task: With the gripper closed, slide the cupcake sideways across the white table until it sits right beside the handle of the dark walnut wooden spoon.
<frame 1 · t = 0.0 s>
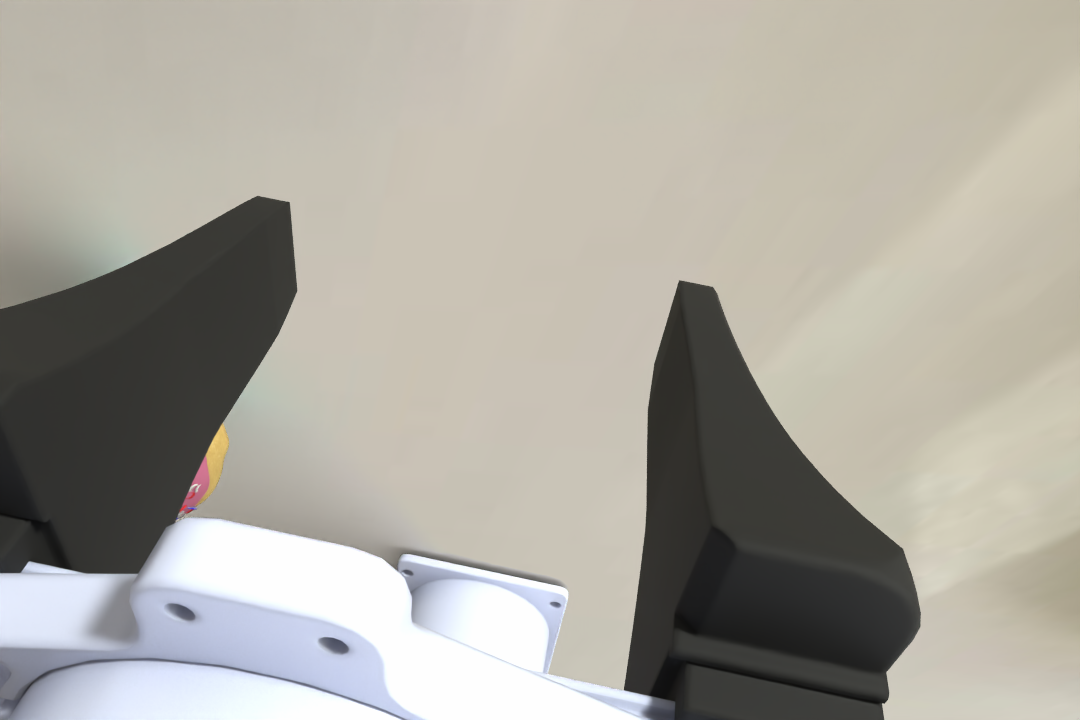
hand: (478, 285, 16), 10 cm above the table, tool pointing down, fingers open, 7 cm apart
cupcake: (168, 343, 33), on the table
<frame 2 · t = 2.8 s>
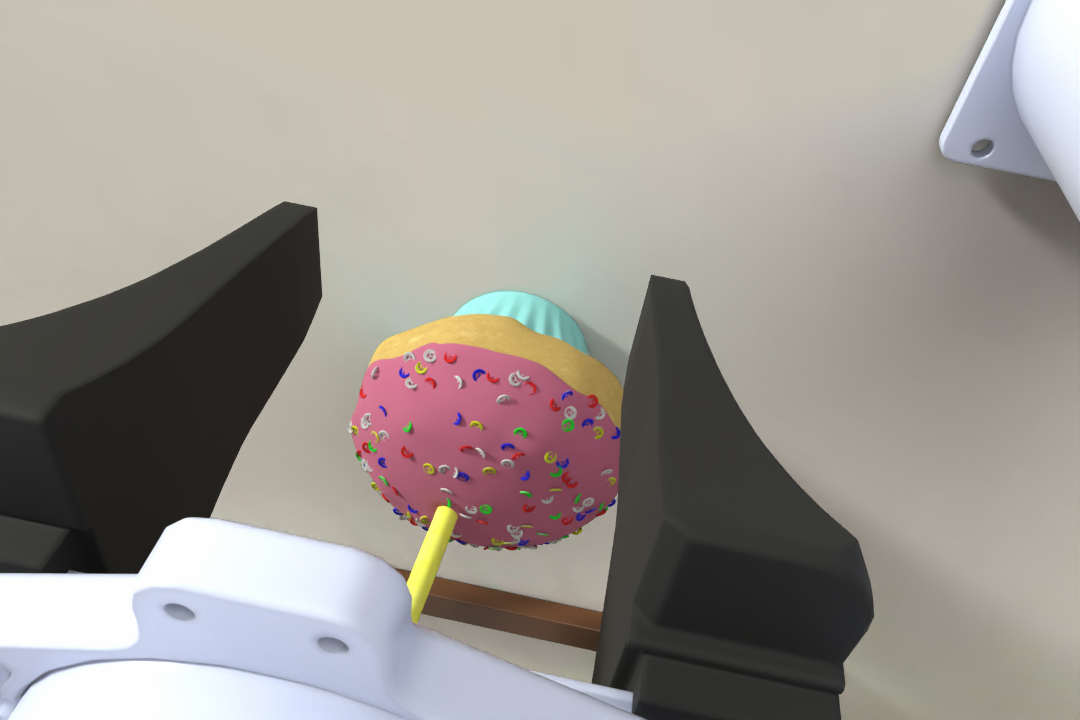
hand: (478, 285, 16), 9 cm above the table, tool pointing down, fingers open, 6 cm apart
cupcake: (517, 338, 29), on the table
spoon: (564, 614, 40), on the table
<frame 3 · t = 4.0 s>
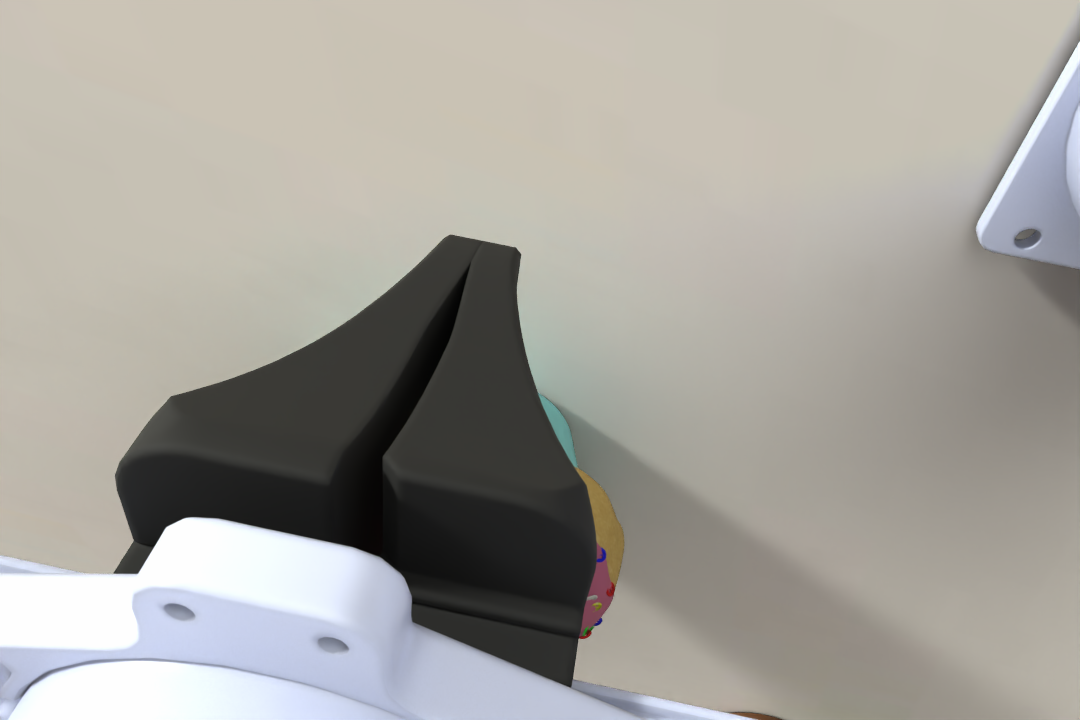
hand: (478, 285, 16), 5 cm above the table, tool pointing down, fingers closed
cupcake: (494, 423, 26), on the table
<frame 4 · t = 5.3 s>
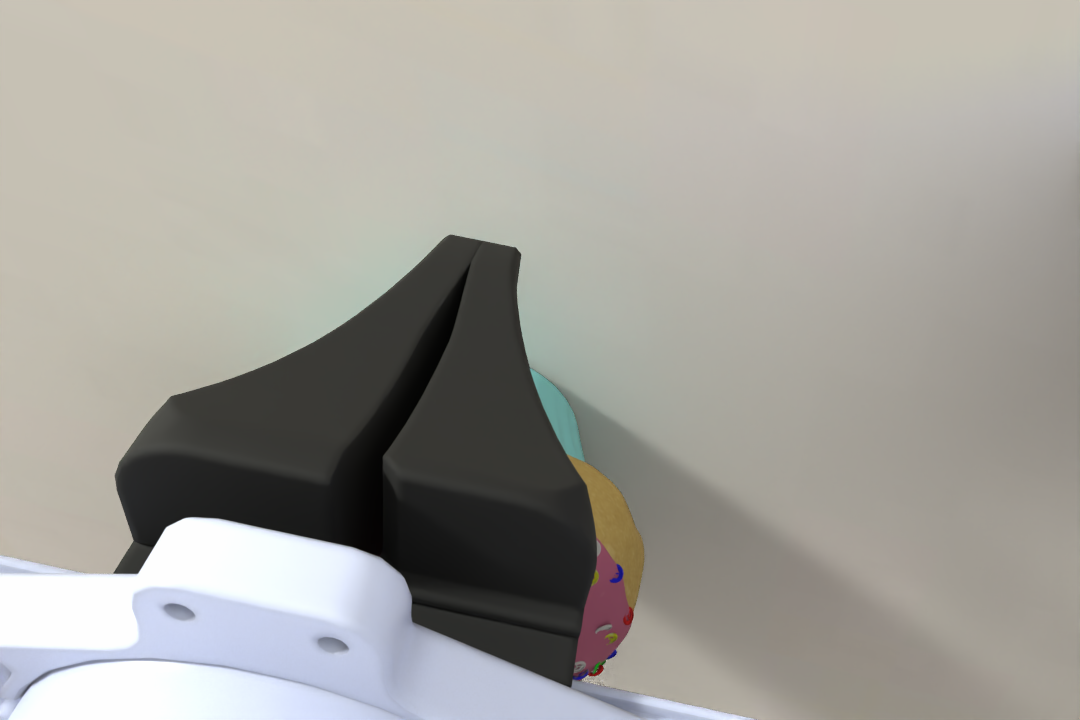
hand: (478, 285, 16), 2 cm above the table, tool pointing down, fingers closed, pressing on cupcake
cupcake: (484, 410, 22), on the table, touching gripper
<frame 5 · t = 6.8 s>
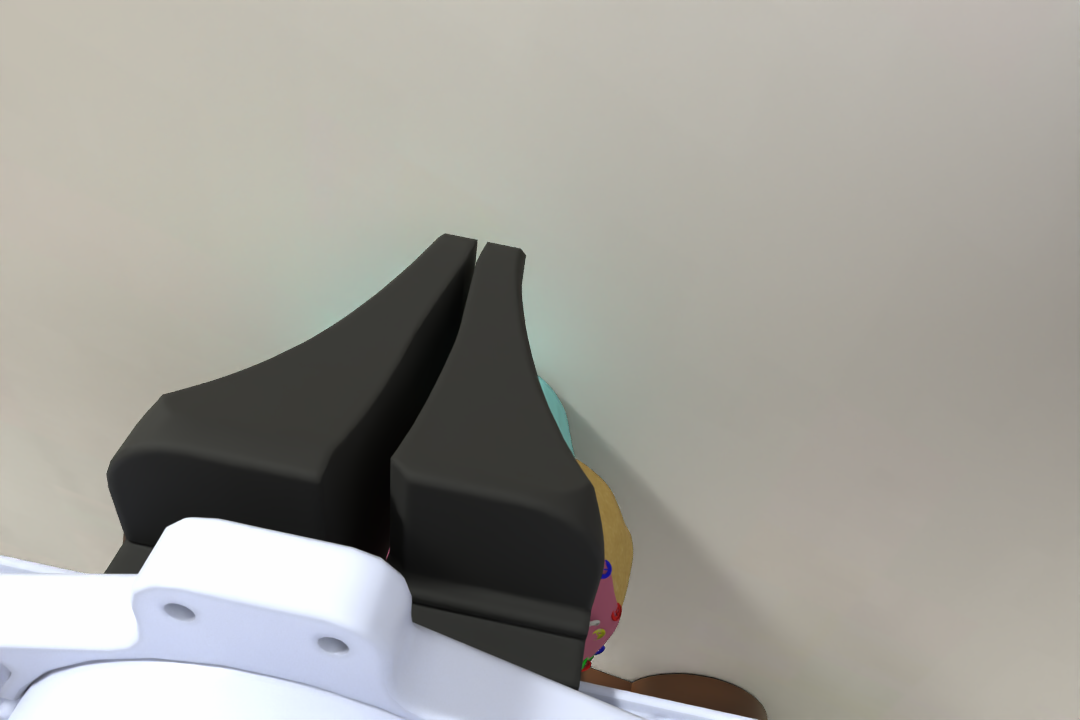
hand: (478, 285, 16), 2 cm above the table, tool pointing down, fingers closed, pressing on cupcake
cupcake: (474, 405, 22), on the table, touching gripper
spoon: (459, 630, 29), on the table
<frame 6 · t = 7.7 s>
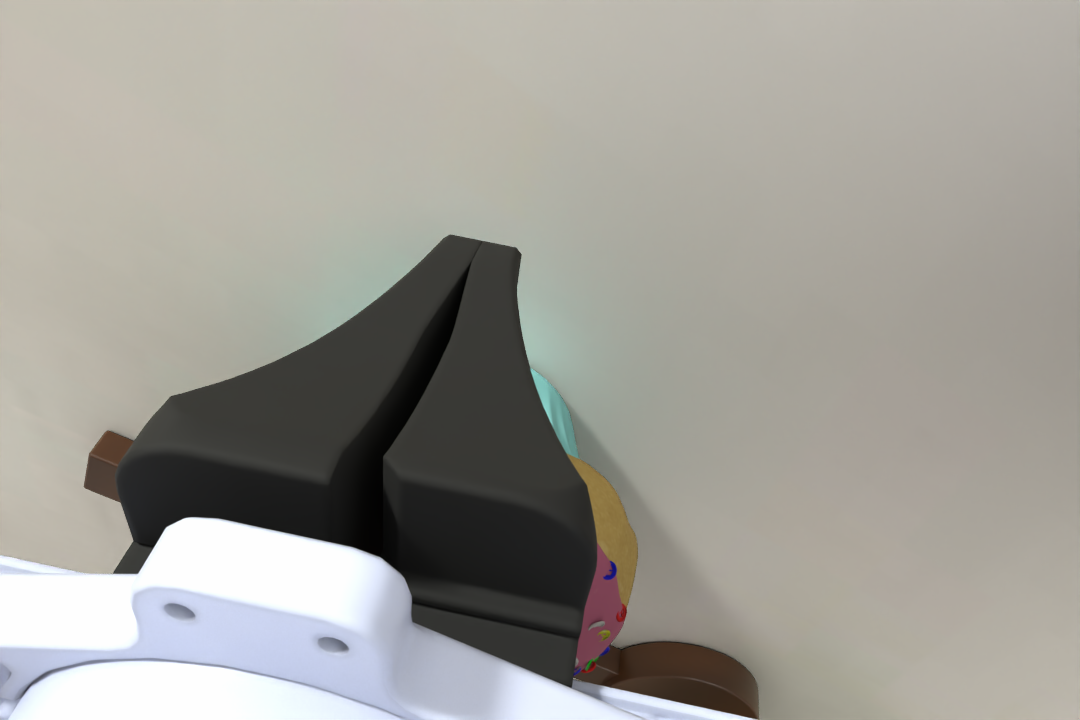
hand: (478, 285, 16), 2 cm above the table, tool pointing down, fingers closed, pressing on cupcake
cupcake: (478, 406, 22), on the table, touching gripper
spoon: (444, 587, 27), on the table
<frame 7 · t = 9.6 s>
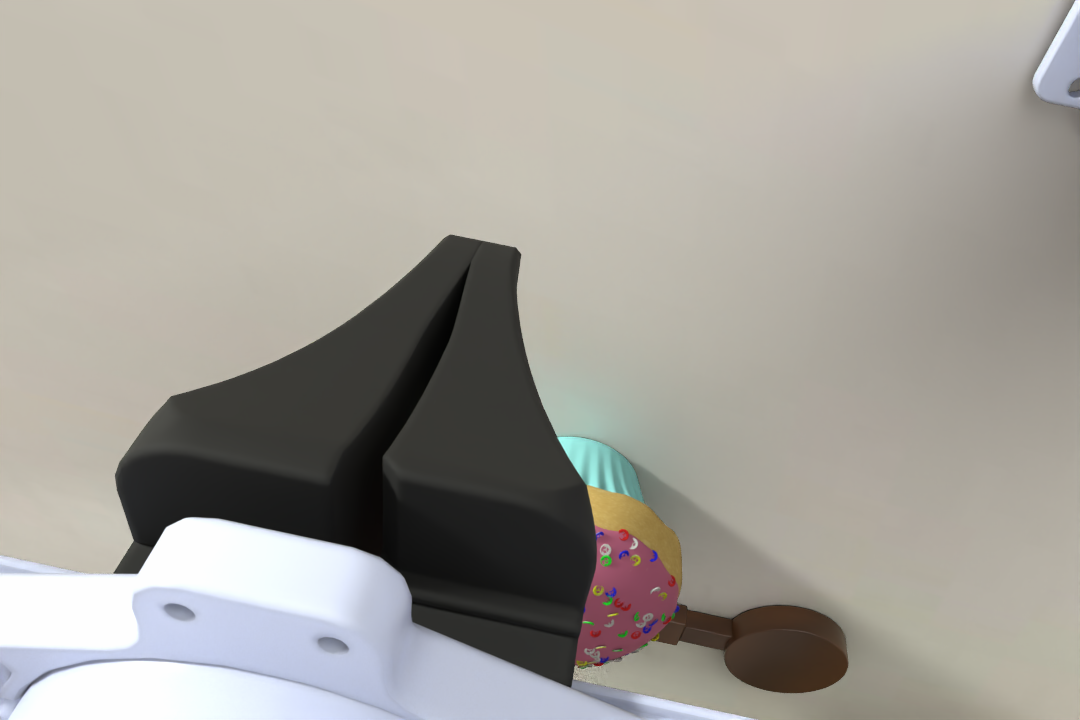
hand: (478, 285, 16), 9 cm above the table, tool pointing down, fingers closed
cupcake: (575, 471, 33), on the table
spoon: (594, 596, 38), on the table
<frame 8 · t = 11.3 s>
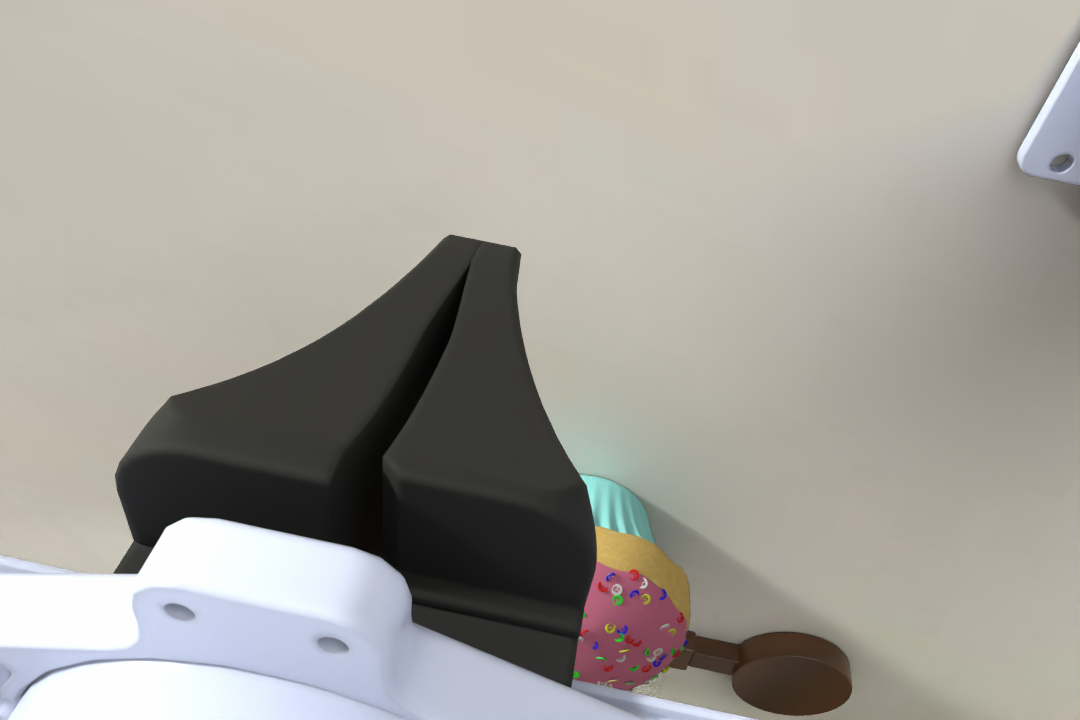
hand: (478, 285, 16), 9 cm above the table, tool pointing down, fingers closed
cupcake: (586, 506, 35), on the table
spoon: (606, 623, 40), on the table
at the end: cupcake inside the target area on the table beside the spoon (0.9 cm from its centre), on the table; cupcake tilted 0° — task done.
